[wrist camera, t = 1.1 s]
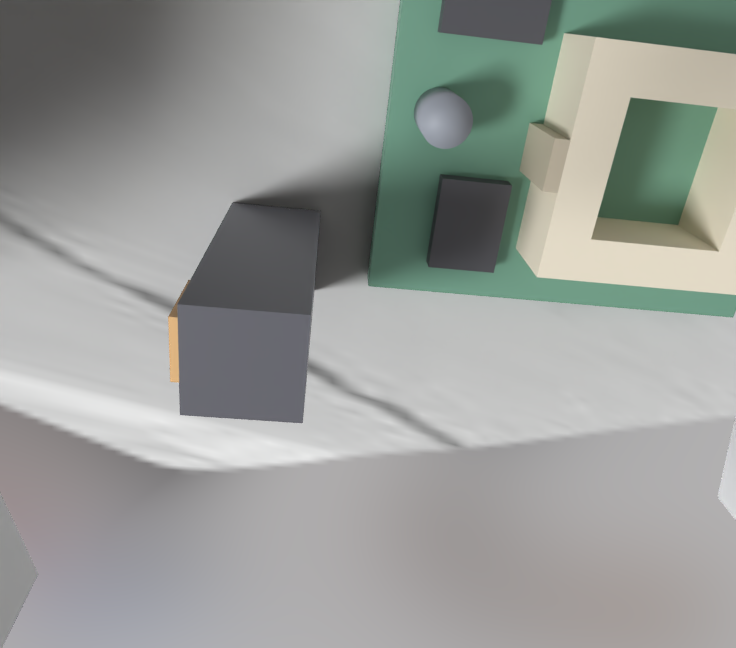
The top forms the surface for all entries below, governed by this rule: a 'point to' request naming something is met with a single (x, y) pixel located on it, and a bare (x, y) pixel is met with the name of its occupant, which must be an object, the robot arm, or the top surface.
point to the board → (562, 153)
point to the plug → (248, 317)
